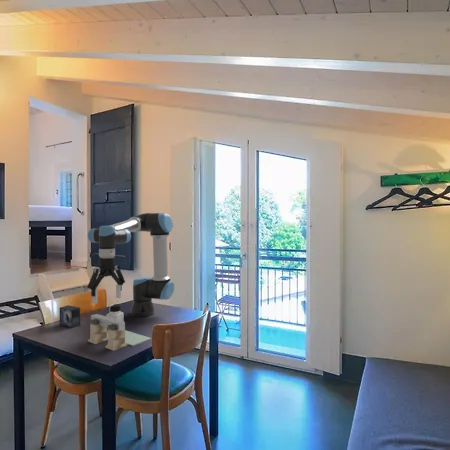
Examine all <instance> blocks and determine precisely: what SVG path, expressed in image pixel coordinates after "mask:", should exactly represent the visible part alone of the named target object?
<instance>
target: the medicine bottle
mask: <svg viewBox="0 0 450 450" xmlns="http://www.w3.org/2000/svg"><path fill="white" fill-rule="evenodd" d="M108 310H109V312H108V313H107V314H105V316H106V317H110V318H113V319H117V320H120V321H124V322H125V320H124V319H125V318H124V316H125V315H124V312H123V311H121V304H118V303H113V304H110V305H109V309H108Z"/></svg>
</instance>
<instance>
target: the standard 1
mask: <svg viewBox="0 0 450 450" xmlns="http://www.w3.org/2000/svg"><path fill="white" fill-rule="evenodd" d="M89 323H90V324H89V327H90V328H89V339H88V340H87V342H89V343H91V344H94V345H96V344H100V343H103V342H106V341H108V337H107V332H108V327H104V326H101V325H98V324H97V321H96V320H93V319H92V320H91V319H90V320H89Z"/></svg>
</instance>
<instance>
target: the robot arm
mask: <svg viewBox="0 0 450 450" xmlns="http://www.w3.org/2000/svg"><path fill="white" fill-rule="evenodd" d="M173 224H174V223H173V219H172V216H170V215H169V213H164V212H146V213H141V214H137V215H135V216H131V217H130V218H128V219H127V220H123V221H121V222H116V223H114V224H110V225H101V226H99V228H97V227H96V228H90V230H89V231H88V232H87V239H88V241H89V242H90V243H95V244H98V247H99V249H98V257H99V258H98V265H99V268H96V267H94V268H93V271H92V274H91V277H90V279H89V282H88V285H87V287H86V288H87V290H91V291H90V293H91V294H90V295H91V297H92V303H93V304H98V289H97V288H98V287H99V286H100V283H101V282H102V280H103V279H104V278H105V277H111V278H112V279H113V280H114V281H115V283H117V284H116V285H115V298H118V299H121V298H122V297H121V296H122V290H123V289H122V288H123V287H122V286H123V285H124V284H125V283H126V279H125V277H124V275H123V272H122V271H121V266H120V265H116V258H115V256H116V245H121V244H123V245H124V244H127V243H129V242H130V241H131V239H132V234H131V233H137V232H147V233H148V232H149V234H150V235H149V236H151V237H152V247H153V248H152V249H153V250H152V254H153V255H152V256H153V257H152V258H153V276H152V277H151V276H144V277H137V278H135V279H133V284H132V300H133V301H132V305H131V308H130V316H133V317H141V318H143V317H149V316H152V315H154V314H155V308H154V305H153V301H152V300H153V299H154V300H162V301H163V300H165V301H166V300H169V299H171V298H172V297H173V294H174V291H175V283H174V281H172V280H171V277H170V275H169V271H168V269H169V268H168V264H169V263H168V262H169V261H168V237H169V236H170V232H172V230H173V227H174V225H173Z"/></svg>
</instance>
